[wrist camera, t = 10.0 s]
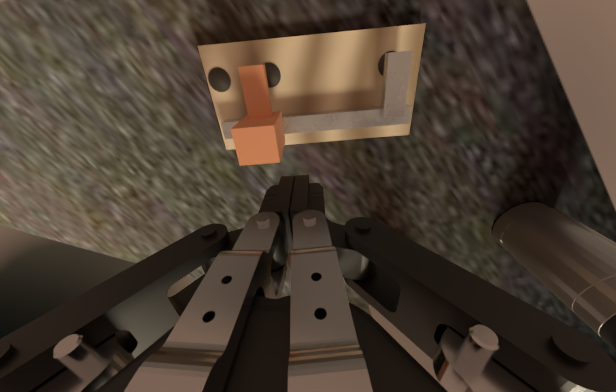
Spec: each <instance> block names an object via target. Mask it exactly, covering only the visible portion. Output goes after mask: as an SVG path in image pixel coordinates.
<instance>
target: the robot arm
mask: <svg viewBox="0 0 616 392" xmlns="http://www.w3.org/2000/svg"><path fill="white" fill-rule="evenodd" d="M492 234H493V237H494V238H495V240H496V241H498V242H499V243H500V244H501V245H502V246H503V247H504V248H505V249H506V250H507V251H508V252H509V253H510V254H511V255H512V256H514V257H515V258H516V259H517V260H518V261H519V262H520V263H521V264H522V265H523V266H524V267H525V268H526V269H528V270H529V271H530V272H531V273H532V274H533V275H534V276H535V277H536V278H537V279H538V280H539V281H540V282H542V283H543V284H544V285H545V286H546V287H547V288H548V289H549V290H550V291H551V292H552V293H553V294H555V295H556V296H557V297H558V298H559V299H560V300H561V301H562V302H563V303H564V304H565V305H566V306H567V307H569V308H570V309H571V310H572V311H573V312H574V313H575V314H576V315H577V316H578V317H579V318H581V319H582V320H583V321H584V322H585V323H586V324H587V325H588V326H589V327H590V328H591V329H592V330H593V331H595V332H596V333H597V334H598V335H599V336H600V337H601V338H602V339H603V340H604V341H605V342H606V343H607V344H608V345H610V346H611V347H612V348H613V349H614V350H615V351H616V243H615V242H613V241H611V240H609V239H608V238H606V237H604V236H603V235H601V234H599V233H597V232H596V231H594V230H592V229H590V228H589V227H587V226H585V225H584V224H582V223H580V222H578V221H577V220H575V219H573V218H571V217H570V216H568V215H566V214H565V213H563V212H561V211H559V210H558V209H556V208H550V207H548V206H546V205H545V204H542V203H539V202H528V203H524V204H520V205H518V206H515V207H513V208H511V209H509V210H508V211H507V212H505V213H504V214H503V215H502V216H500V217H499V219H498V220H497V221H496V223H495V224H494V226H493V230H492ZM288 253H291V295H290V296H286V297H282V298H281V294H282V289H283V284H284V280H285V275H286V271H287V257H288ZM199 266H202V268H203V270H204V272H205V274H204V275H203V276H201V277H200V278H198V279H197V280H195V281H194V282H193V283H191V284H190V285H188V286H187V287H186V288H184V289H183V290H181V291H180V292H179V293H177V294H176V295H174V296H172V297H167V292H168V290H169V288H170V287H171V286H172V285H173V284H174V283H175V282H177V281H178V280H180V279H181V278H183V277H184V276H186V275H187V274H189V273H190V272H192V271H193V270H195V269H196V268H198V267H199ZM343 277H344V280H345V282H346V283H347V284H348V285H349V286H350V287H351V288H352V289H353V290H354V291H355V292H356V293H358V294H359V295H360V296H361V297H362V298H363V299H364V300H365V301H367V302H368V303H369V304H370V305H371V306H372V307H373V308H374V309H376V310H377V311H378V312H379V313H380V314H381V315H382V316H383V317H385V318H386V319H387V320H388V321H389V322H390V323H391V324H393V325H394V326H395V327H396V328H397V329H398V330H399V331H400V332H402V333H403V334H404V335H405V336H406V337H407V338H408V339H409V340H411V341H412V342H413V343H414V344H415V345H416V346H417V347H418V348H420V349H421V350H422V351H423V352H424V353H425V354H426V355H427V356H429V357H430V358H431V359H432V360H433V368H434V372H435V375H436V377H437V379H438V381H439V382H438V381H437V380H436V379H435V378H434V377H433V376H432V375H431V374H430V373H429V372H428V371H427V370H426V369H425V368H424V367H423V366H422V365H420V364H419V363H418V362H417V361H416V360H415V359H414V358H413V357H412V356H411V355H410V354H409V353H408V352H407V351H406V350H405V349H404V348H403V347H402V346H401V345H400V344H399V343H398V342H397V341H396V340H395V339H394V338H393V337H392V336H391V335H390V334H389V333H388V332H387V331H386V330H385V329H384V328H383V327H382V326H381V325H380V324H379V323H378V322H377V321H376V320H375V319H374V318H373V317H371V316H370V315H369V314H368V313H366V312H365V311H363V310H362V309H360V308H359V307H357V306H355V305H353V304H351V303H349V302H348V298H347V294H346V289H345V285H344V281H343ZM615 390H616V365H615V363H614V362H613V360H612V359H611V358H610V357H609V355H608V354H607V353H606V352H605V351H604V350H603V349H602V348H601V347H600V346H598V345H597V344H596V343H595V342H594V341H592V340H591V339H590V338H588V337H587V336H585V335H584V334H582V333H581V332H579V331H577V330H576V329H574V328H572V327H570V326H568V325H566V324H565V323H563V322H561V321H559V320H557V319H555V318H554V317H552V316H550V315H548V314H546V313H544V312H543V311H541V310H539V309H537V308H535V307H533V306H531V305H530V304H528V303H526V302H524V301H522V300H520V299H519V298H517V297H515V296H513V295H511V294H509V293H507V292H506V291H504V290H502V289H500V288H498V287H496V286H495V285H493V284H491V283H489V282H487V281H485V280H483V279H482V278H480V277H478V276H476V275H474V274H472V273H471V272H469V271H467V270H465V269H463V268H461V267H459V266H458V265H456V264H454V263H452V262H450V261H448V260H447V259H445V258H443V257H441V256H439V255H437V254H435V253H434V252H432V251H430V250H428V249H426V248H424V247H423V246H421V245H419V244H417V243H415V242H413V241H412V240H410V239H408V238H406V237H404V236H402V235H400V234H399V233H397V232H395V231H393V230H391V229H389V228H388V227H386V226H384V225H382V224H380V223H378V222H376V221H375V220H372V219H370V218H365V217H357V218H353V219H351V220H349V221H348V222H347V223H346V224H345V225H340V224H336V223H333V222H331V221H330V220H328V219H327V218H326V216H325V207H324V196H323V187H322V186H321V185H320V184H319V183H309V175H297V176H281V179H280V182H279V185H274V186H271V187H270V188H269V189H268V190H267V191H266V194H265V197H264V199H263V202H262V205H261V208H260V210H259V213H258V214H255V215H253V216H252V217H251V218H249V220H248V221H247V223H246V225H245V227H244V228H242V229H238V230H234V231H230V232H228V230H227V227H226V226H225V225H223V224H210V225H206V226H204V227H202V228H200V229H198V230H196V231H194V232H193V233H191V234H189V235H187V236H185V237H184V238H182V239H180V240H178V241H176V242H175V243H173V244H171V245H169V246H167V247H166V248H164V249H162V250H160V251H158V252H157V253H155V254H153V255H151V256H149V257H148V258H146V259H144V260H142V261H140V262H139V263H137V264H135V265H133V266H131V267H130V268H128V269H126V270H124V271H122V272H121V273H119V274H117V275H115V276H114V277H111V278H110V279H108V280H106V281H104V282H102V283H101V284H99V285H97V286H95V287H93V288H92V289H90V290H88V291H86V292H85V293H83V294H81V295H79V296H77V297H76V298H74V299H72V300H70V301H68V302H66V303H65V304H63V305H61V306H59V307H58V308H56V309H54V310H52V311H50V312H49V313H47V314H45V315H43V316H41V317H39V318H38V319H36V320H34V321H32V322H30V323H28V324H27V325H25V326H23V327H21V328H19V329H18V330H16V331H14V332H12V333H11V334H9V335H7V336H5V337H3V338H1V339H0V392H613V391H615Z"/></svg>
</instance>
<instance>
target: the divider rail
mask: <svg viewBox="0 0 616 392" xmlns="http://www.w3.org/2000/svg"><path fill="white" fill-rule="evenodd" d="M412 52H413V50H412V51H402V52H391V53H385V61H384V73H383V86H382V98H381V106H373V107H362V108H350V109H339V110H328V111H316V112H305V113H293V114H282V120H283V127H284V134H292V133H304V132H316V131H328V130H340V129H352V128H363V127H375V126H387V125H399V124H410V118H411V111H412V106H410V105H408V104H406V97H407V90H408V82H409V75H410V67H411V60H412ZM241 119H243V118H236V119H226V120H224V121H223V122H221V126H222V129H223V133H224V137H225V139H233V137H232V133H231V128H232V127H233V126H235V125H236V124H237V123H238V122H239V121H240V120H241Z"/></svg>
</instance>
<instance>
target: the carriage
mask: <svg viewBox="0 0 616 392" xmlns="http://www.w3.org/2000/svg"><path fill="white" fill-rule="evenodd" d="M238 70H239V75H240V79H241V84H242V89H243V94H244V98H245V103H246V108H247V113H248V114H247V115H246V116H245V117H244V118H243V119H241V120H240V121H239V122H238V123H237V124H236V125H235V126H233V127H232V128H231V133H232V137H233V141H234V145H235V148H236V152H237V156H238V160H239V164H240V166H241V165H254V164H266V163H279V162H280V160H281V156H282V152H283V148H284V145H285V135H284V127H283V120H282V112H281V111H276V112H272V108H271V101H270V95H269V88H268V82H267V75H266V69H265V64H264V65H253V66H242V67H238Z"/></svg>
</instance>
